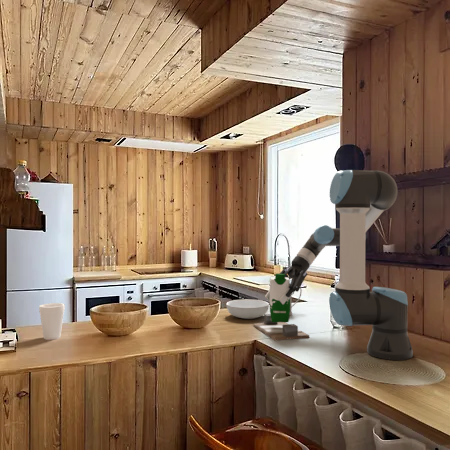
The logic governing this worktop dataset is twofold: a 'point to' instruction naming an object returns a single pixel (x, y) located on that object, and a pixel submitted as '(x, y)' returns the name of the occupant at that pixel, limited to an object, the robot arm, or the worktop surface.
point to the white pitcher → (294, 303)
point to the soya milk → (276, 291)
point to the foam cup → (52, 320)
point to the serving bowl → (247, 308)
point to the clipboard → (279, 329)
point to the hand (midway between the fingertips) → (273, 300)
